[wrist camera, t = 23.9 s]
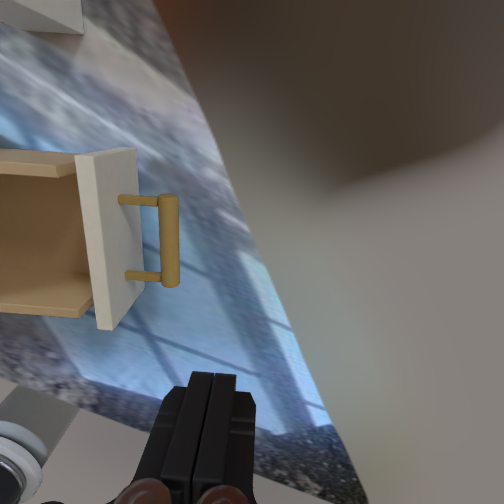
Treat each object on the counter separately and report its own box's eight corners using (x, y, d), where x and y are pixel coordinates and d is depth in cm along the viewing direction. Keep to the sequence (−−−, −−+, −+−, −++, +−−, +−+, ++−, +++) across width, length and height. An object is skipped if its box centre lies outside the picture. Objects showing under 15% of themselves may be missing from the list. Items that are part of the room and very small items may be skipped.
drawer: (189, 151, 25) (163, 161, 19) (190, 291, 30) (169, 336, 24) (-45, 134, 26) (-146, 139, 19) (-8, 275, 30) (-81, 315, 24)
